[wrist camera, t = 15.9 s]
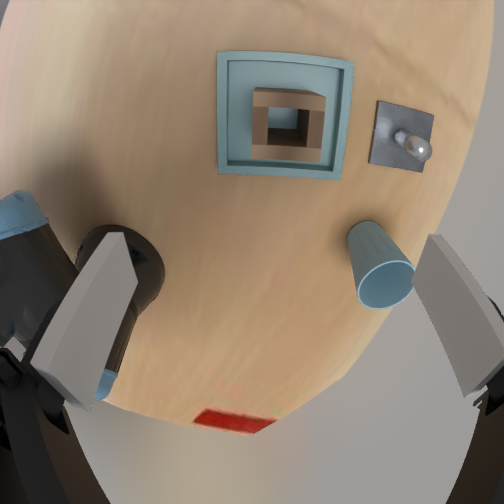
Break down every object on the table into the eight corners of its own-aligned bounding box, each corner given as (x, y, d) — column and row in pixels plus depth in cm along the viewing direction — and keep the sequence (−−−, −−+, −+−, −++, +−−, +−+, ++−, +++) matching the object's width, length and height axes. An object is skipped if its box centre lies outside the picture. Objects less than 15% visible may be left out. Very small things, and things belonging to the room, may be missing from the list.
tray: (220, 167, 33) (218, 173, 31) (220, 52, 25) (217, 51, 23) (335, 173, 33) (340, 180, 31) (348, 62, 25) (354, 62, 23)
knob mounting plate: (368, 162, 32) (385, 179, 27) (377, 100, 27) (398, 107, 22) (420, 171, 32) (441, 189, 27) (431, 114, 27) (457, 125, 22)
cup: (353, 206, 35) (379, 253, 27) (397, 222, 36) (428, 269, 28) (330, 250, 40) (346, 303, 31) (373, 262, 41) (395, 313, 32)
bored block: (254, 137, 30) (251, 158, 24) (255, 87, 27) (253, 91, 20) (307, 141, 30) (319, 162, 24) (311, 90, 27) (326, 97, 20)
